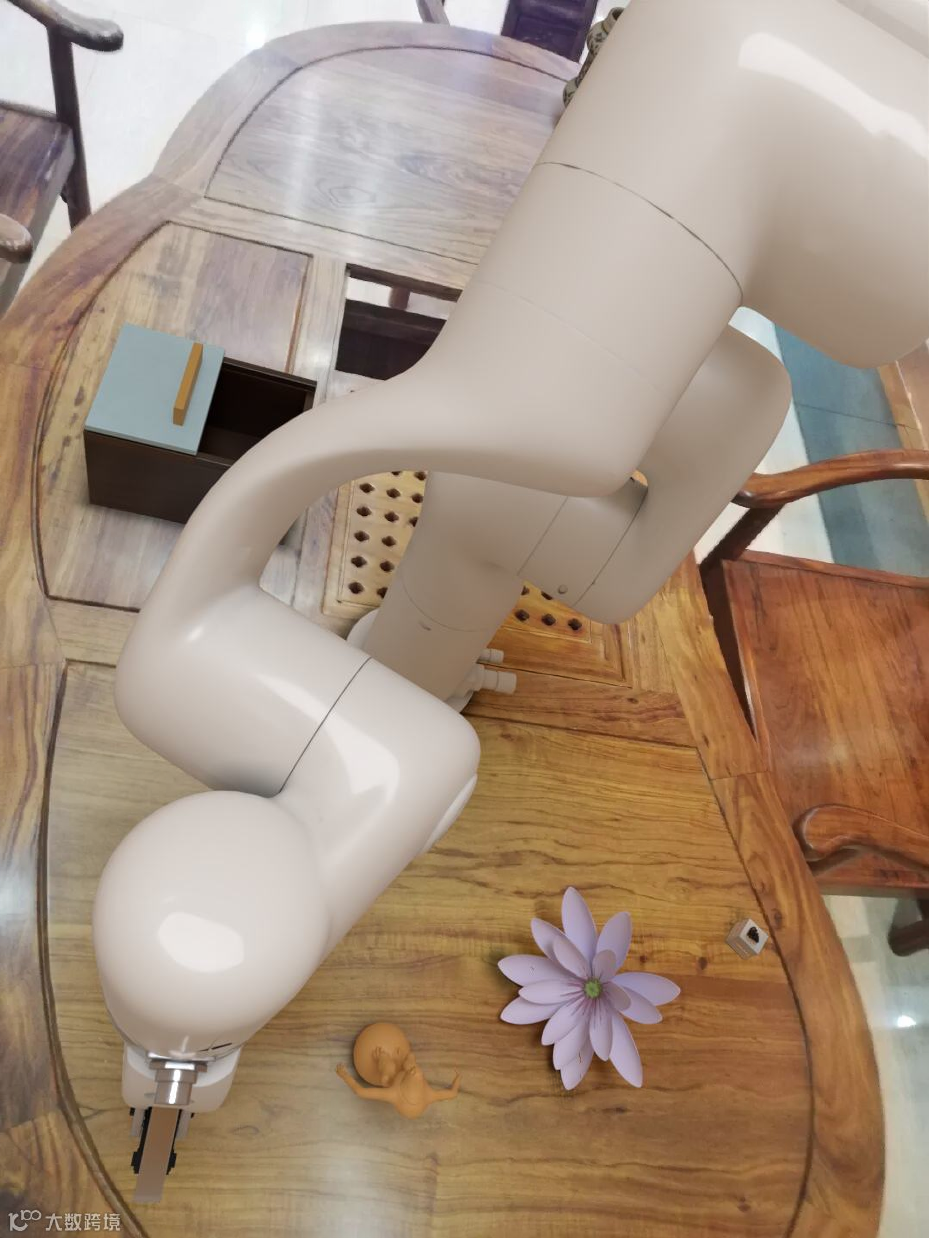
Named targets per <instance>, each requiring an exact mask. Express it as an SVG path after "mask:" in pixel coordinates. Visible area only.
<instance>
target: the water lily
mask: <svg viewBox="0 0 929 1238" xmlns="http://www.w3.org/2000/svg"><path fill="white" fill-rule="evenodd" d="M561 923H562V927H563V930H564V932H563V931H562V930H561V929H559V928H558V927H556V926H555V925H553V924H551V923H550V922H548V921H546V920H544V919H541V918H538V917H532V918H531V919H530V929H531V933H532V937H533V939H534V941H535V943H536V944H537V946H538V948H539V949H540V950H541V951H542V953H544V954H545V955H546V956H547V957H546V956H542V955H541V956H540V955H533V954H513V955H509V956H506V957H503V958H501V959H500V960H499V961H498V962H497V966H498V969H500V971H501V972H502V974H503V975H504V976H506V977H507V978H508V979H509V980H510V981H512V982H514V983H515V984H517V985H520V986H522V988H520V989H519V990H518V992H517V993H518V995H519V996H518V997H517V998H514V999H513V1000H512V1001H511V1002H510V1003H508V1005H507V1006H506V1007H504V1009H503V1010H502V1011H501V1014H500V1019H501V1020H502V1021H504V1022H506V1023H510V1024H514V1025H531V1024H535V1023H539V1022H542V1021H545V1020H548V1019H549V1020H548V1021H547V1023H546V1024H545V1026H544V1029H543V1032H542V1036H541V1045H542V1046H550V1045H552V1044H554V1046H553V1053H552V1062H553V1066H554V1068H555V1070H556V1071H558V1070H560V1076H561V1082H562V1085H563V1086H564V1088H565V1090H566V1091H570V1090H572V1089H574V1088H576V1086H578V1085H579V1083H581V1081H582V1080H583V1078H584V1077H585V1075H586V1074H587V1072H588V1069H589V1067H590V1064H591V1062H592V1060H593V1056H594V1053H595V1054H596V1055H597V1057H598V1058H599V1059H600V1060H602V1061H604V1062H607V1061H608V1060H609V1059H610V1061H611V1063H612V1064H613V1066H614V1068H615V1069H616V1070H617V1072H618V1073H619V1074H620V1076H621V1077H622V1078H623V1079H624V1080H625V1081H626V1082H627V1083H629V1084H630V1085H632V1086H633V1087H636V1088H641V1087H642V1085H643V1068H642V1067H643V1066H642V1062H641V1058H640V1055H639V1051H638V1048H637V1046H636V1043H635V1040H634V1038H633V1035H632V1033H631V1031H630V1029H629V1027H628V1024H627V1023H626V1021H625V1020H624V1018H623V1017H622V1015H623V1016H624V1017H626V1018H627V1019H630V1020H632V1021H634V1022H636V1023H639V1024H643V1025H653V1024H654V1025H655V1024H657V1023H660V1022H661V1021H662V1020H663V1016H662V1014H661V1013H660V1011H659V1009H658V1008H657V1007H659V1006H662V1005H663V1006H664V1005H665V1004H667V1003H670V1002H671V1001H673V1000H674V999H676V998H677V997H678V996H679V995H680V993H681V991H682V990H681V988H680V987H679V986H678V984H676V983H674V982H673V981H671V980H670V979H668V978H666V977H664V976H661V975H658V974H654V973H650V972H642V971H628V972H623V973H618V974H616V973H617V972H618V971H619V970H620V969H621V967H622V966H623V964H624V963H625V961H626V958H627V956H628V953H629V950H630V946H631V942H632V935H633V926H632V925H633V923H632V918H631V915H630V912H629V911H627V910H623V911H619V912H618V913H615V914H613V916H611V917H610V918H609V919H608V920H607V921H606V922H605V924H604V926H603V927H602V929H601V931H600V934H599V933H598V930H597V927H596V923H595V921H594V918H593V916H592V913H591V911H590V909H589V907H588V904H587V903H586V901H585V899H584V898H583V896H582V895H581V894H580V892H579V891H578V890H576V888H574V887H573V886H569V887H568V888H567V889H566V890H565V892H564V895H563V898H562V903H561ZM598 934H599V935H598ZM531 967H532V968H533V969H534V970H533V969H532V968H531ZM620 1013H621V1014H622V1015H621V1014H620ZM579 1053H580V1057H581V1063H580V1057H579ZM580 1075H581V1076H580ZM580 1077H581V1078H580Z"/></svg>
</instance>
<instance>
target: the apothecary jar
mask: <svg viewBox="0 0 929 1238" xmlns="http://www.w3.org/2000/svg"><path fill="white" fill-rule="evenodd" d="M625 8H626V7H622V6H615V7H614V6H613V7H611V8H610V10H609V11H608V13H607V15H606V17H605V18H604V19H603V20H600V21H598V22H596V23H594V24H592V26H591V27H590V28H589V29H588V32H587V34H586V38H585V41H586V42H585V43H586V49H587V50H588V52H587V55H586V57H585V60H584V62H583V64H582V66H581V68H580V71H579V73H578V74H577V76H573V78H571V79H569V80H568V82H567V83H566V84H565V85H564V88H563V90H562V102H563V106H564V108H565V109H566V108H567V106H568V104H569V103H570V101H571V99H572V97H573V96H574V94H575V92H576V90H577V89H578V87H579V85H580V83H581V82H582V80H583V78H584V76H585V75H586V73H587V71H588V69H589V68H590V66H591V64H592V62H593V61H594V59H595V57H596V55H597V54H598V52H599V50H600V48H601V47H602V45H603V43H604V41H605V40H606V38H607V36H608V35H609V33H610V31H611V30H612V28H613V26H614V24H615V23H616V21H617V19H618V18H619V16H620V15H621V14H622V12H623V11H624V9H625Z"/></svg>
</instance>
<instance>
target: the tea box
mask: <svg viewBox="0 0 929 1238" xmlns="http://www.w3.org/2000/svg"><path fill="white" fill-rule="evenodd" d="M317 387H318V381H317V380H314V379H311V378H306V377H303V376H300V375H295V374H292V373H288V372H284V371H280V370H277V369H273V368H269V367H266V366H262V365H257V364H254V363H250V362H246V361H243V360H240V359H235V358H232V357H228V356H224V358H223V362H222V365H221V369H220V373H219V376H218V380H217V383H216V387H215V390H214V394H213V398H212V401H211V405H210V408H209V412H208V415H207V419H206V422H205V426H204V430H203V433H202V437H201V440H200V444H199V447H198V451H197V454H196V455H192V454H187V453H183V452H179V451H175V450H171V449H166V448H162V447H158V446H154V445H149V444H145V443H141V442H137V441H132V440H128V439H124V438H120V437H115V436H111V435H107V434H103V433H98V432H94V431H90V430H86V429H85V427H84V428H83V431H82V434H83V448H84V456H85V458H84V459H85V467H86V468H85V469H86V478H87V479H86V480H87V489H88V499H89V500H88V501H89V503H90V504H93V505H98V506H102V507H107V508H110V509H111V508H112V509H117V510H121V511H125V512H130V513H135V514H140V515H143V516H148V517H153V518H157V519H163V520H166V521H167V520H168V521H171V522H177V523H181V524H185V525H186V524H187V522H188V520H189V518H190V517H191V515H192V514H193V512H194V511H195V509H196V508H197V507H198V505H199V504H200V503H201V501H202V500H203V498H204V497H205V496H206V494H207V493H208V492H209V490H210V489H211V488H212V487H213V486H214V485H215V484H216V483H217V481H218V480H219V479H220V478H221V477H222V476H223V474H224V473H225V472H226V471H227V470H228V469H229V468H231V467H232V466H233V465H234V464H235V463H236V462H237V461H238V460H239V459H240V458H241V457H242V456H243V455H244V454H245V453H246V452H247V451H248V450H250V449H251V448H252V447H254V446H255V445H256V444H257V443H259V442H260V441H261V440H262V439H264V438H265V437H266V436H268V435H269V434H270V433H271V432H273V431H275V430H276V429H278V428H279V427H281V426H283V425H284V424H286V423H287V422H289V421H290V420H292V419H293V418H295V417H297V416H299V415H300V414H302V413H304V412H306V411H308V410H310V409H312V408H314V402H315V397H316V391H317ZM287 533H288V531H287V532H286V534H285V535H284V536H283V538H282V539H281V540H280V542H279V543H278V545H285V542H286V539H287Z"/></svg>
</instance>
